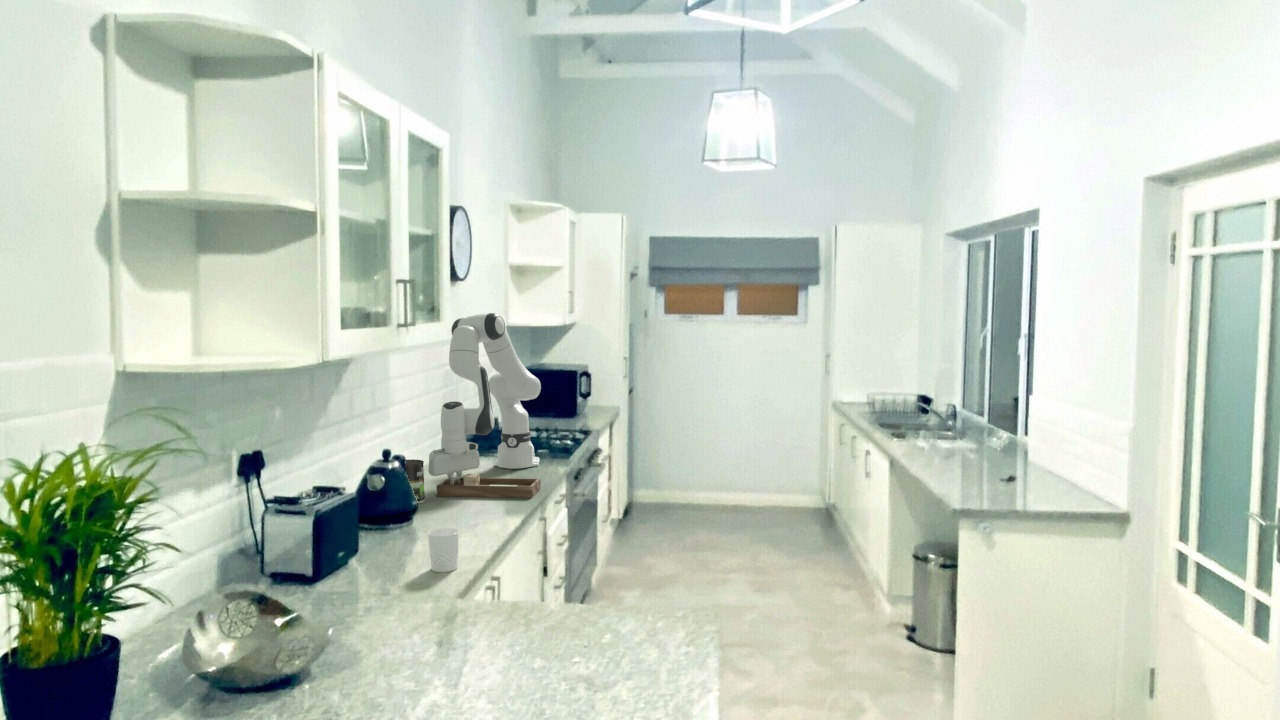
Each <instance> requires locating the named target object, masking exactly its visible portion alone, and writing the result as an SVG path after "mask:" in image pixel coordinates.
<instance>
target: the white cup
mask: <svg viewBox="0 0 1280 720" xmlns="http://www.w3.org/2000/svg"><path fill="white" fill-rule="evenodd" d="M427 534H428V535H427V536H428V537H427V538H428V549H429V557H430V566H431V570H432V571H433V572H435V573H449V572H452V571H455V570H457V569H458V557H459V536H460V535H459V529H457V528H453V527H441V528H434V529H432V530H430V531H428V533H427Z"/></svg>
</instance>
